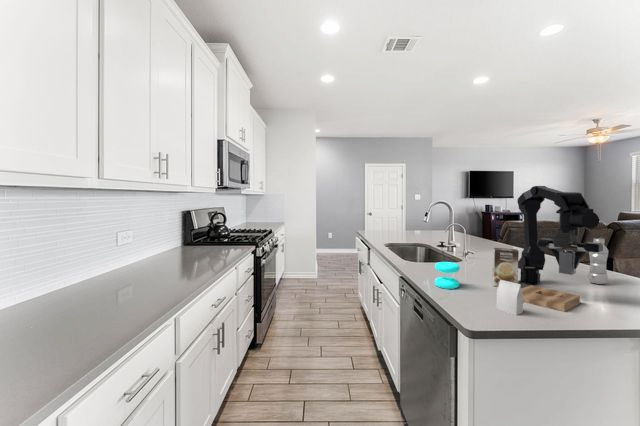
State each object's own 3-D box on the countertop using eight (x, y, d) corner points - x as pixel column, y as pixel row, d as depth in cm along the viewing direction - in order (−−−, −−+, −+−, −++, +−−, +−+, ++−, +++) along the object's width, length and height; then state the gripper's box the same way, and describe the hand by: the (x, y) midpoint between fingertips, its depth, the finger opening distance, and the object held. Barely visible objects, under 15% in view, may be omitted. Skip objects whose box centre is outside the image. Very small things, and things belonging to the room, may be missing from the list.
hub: (513, 299, 120) (513, 290, 120) (530, 292, 127) (530, 284, 127) (564, 311, 106) (564, 302, 106) (579, 303, 114) (579, 294, 114)
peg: (558, 272, 119) (559, 250, 118) (562, 271, 121) (563, 249, 121) (572, 275, 115) (573, 251, 115) (576, 273, 118) (577, 250, 117)
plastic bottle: (611, 286, 136) (613, 239, 135) (593, 285, 137) (595, 239, 136) (601, 282, 142) (603, 237, 141) (584, 281, 143) (585, 237, 142)
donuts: (441, 260, 144) (463, 263, 137) (441, 282, 145) (463, 286, 137) (430, 263, 138) (452, 267, 130) (430, 286, 138) (452, 291, 131)
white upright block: (516, 315, 104) (517, 285, 103) (496, 309, 110) (496, 280, 109) (522, 313, 106) (523, 283, 105) (502, 307, 112) (503, 279, 111)
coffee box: (493, 286, 137) (493, 249, 136) (492, 282, 143) (492, 247, 142) (517, 289, 133) (518, 251, 132) (515, 285, 139) (516, 248, 138)
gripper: (531, 225, 120) (530, 266, 121) (594, 229, 105) (593, 275, 106) (543, 224, 127) (542, 262, 128) (604, 227, 112) (602, 271, 112)
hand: (567, 267), depth 118 cm, fingers closed on peg, 4 cm apart
